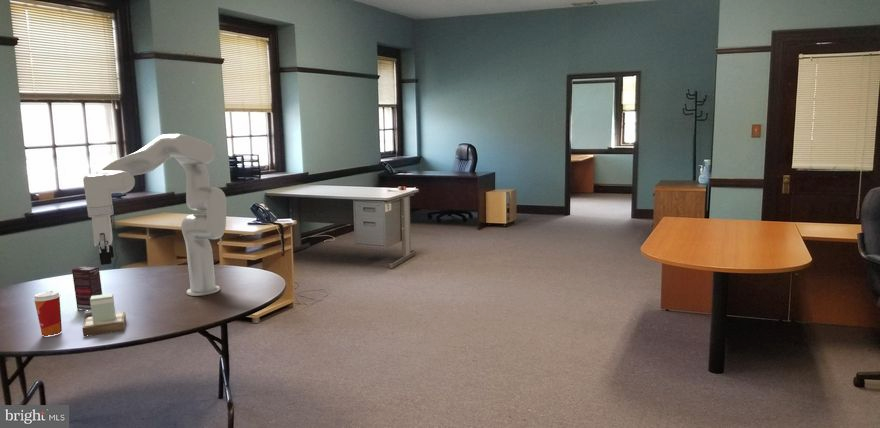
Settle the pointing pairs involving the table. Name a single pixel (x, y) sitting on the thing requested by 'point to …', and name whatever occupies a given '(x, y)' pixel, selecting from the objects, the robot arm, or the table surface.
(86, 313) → the gray box
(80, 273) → the supplement box
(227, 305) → the table surface
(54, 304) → the paper cup
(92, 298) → the carton
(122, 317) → the wooden tray
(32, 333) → the table surface
